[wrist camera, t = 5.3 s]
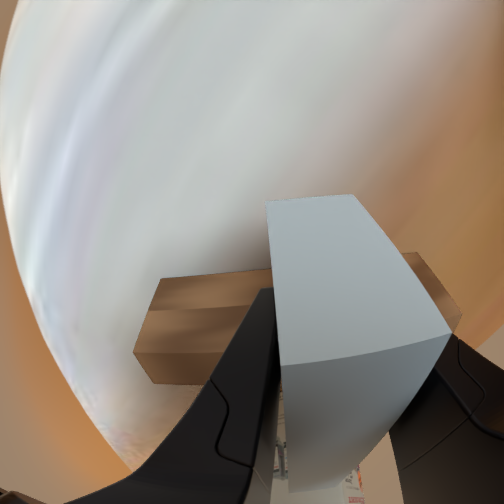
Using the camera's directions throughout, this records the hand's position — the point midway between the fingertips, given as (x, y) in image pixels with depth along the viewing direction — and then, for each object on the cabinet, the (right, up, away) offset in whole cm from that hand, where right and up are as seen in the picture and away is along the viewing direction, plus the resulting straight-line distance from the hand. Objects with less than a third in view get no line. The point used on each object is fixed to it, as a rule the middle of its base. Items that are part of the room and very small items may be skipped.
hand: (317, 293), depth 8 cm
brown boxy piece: (0, -1, +7) cm, 7 cm away
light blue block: (0, -3, +3) cm, 4 cm away
